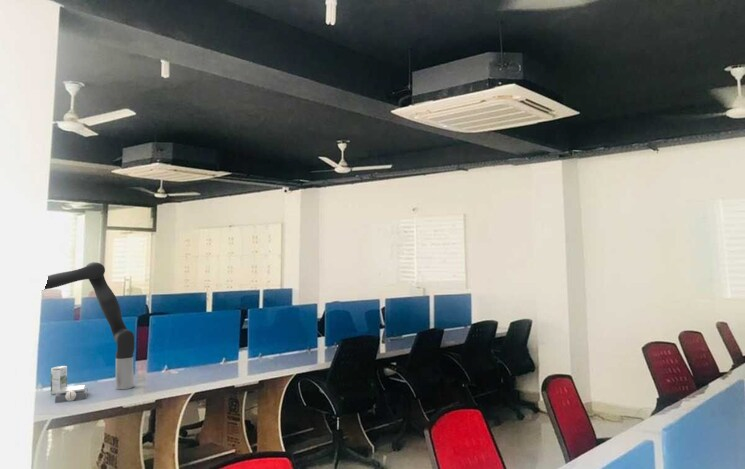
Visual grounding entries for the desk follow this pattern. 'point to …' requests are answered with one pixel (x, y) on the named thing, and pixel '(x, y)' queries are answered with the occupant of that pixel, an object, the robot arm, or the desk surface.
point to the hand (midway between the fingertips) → (11, 349)
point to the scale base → (71, 396)
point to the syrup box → (58, 378)
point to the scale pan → (71, 388)
